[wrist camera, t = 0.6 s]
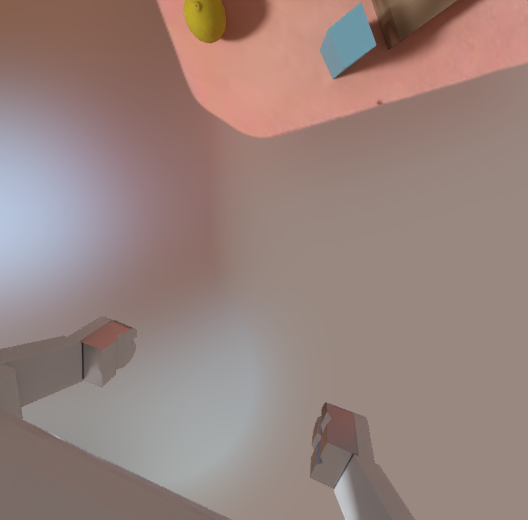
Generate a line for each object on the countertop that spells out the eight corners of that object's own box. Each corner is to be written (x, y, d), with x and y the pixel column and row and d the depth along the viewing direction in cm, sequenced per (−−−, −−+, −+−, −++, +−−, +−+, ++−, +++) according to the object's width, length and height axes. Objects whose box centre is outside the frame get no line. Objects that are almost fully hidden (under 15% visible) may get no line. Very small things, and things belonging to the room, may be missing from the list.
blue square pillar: (319, 49, 39) (328, 28, 30) (344, 30, 38) (361, 2, 28) (332, 79, 41) (344, 68, 31) (356, 61, 39) (376, 45, 30)
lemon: (235, 10, 38) (223, -13, 31) (225, 54, 41) (211, 42, 34) (200, -7, 37) (179, -34, 30) (192, 39, 40) (171, 23, 33)
